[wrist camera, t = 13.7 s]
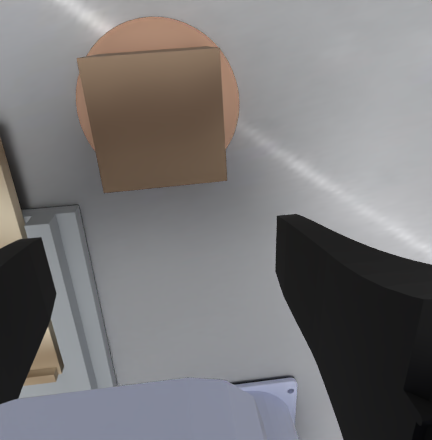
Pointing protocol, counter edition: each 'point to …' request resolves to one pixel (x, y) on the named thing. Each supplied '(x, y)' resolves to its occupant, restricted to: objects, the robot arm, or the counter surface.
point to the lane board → (71, 303)
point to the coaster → (156, 40)
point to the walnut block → (156, 117)
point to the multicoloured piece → (5, 234)
